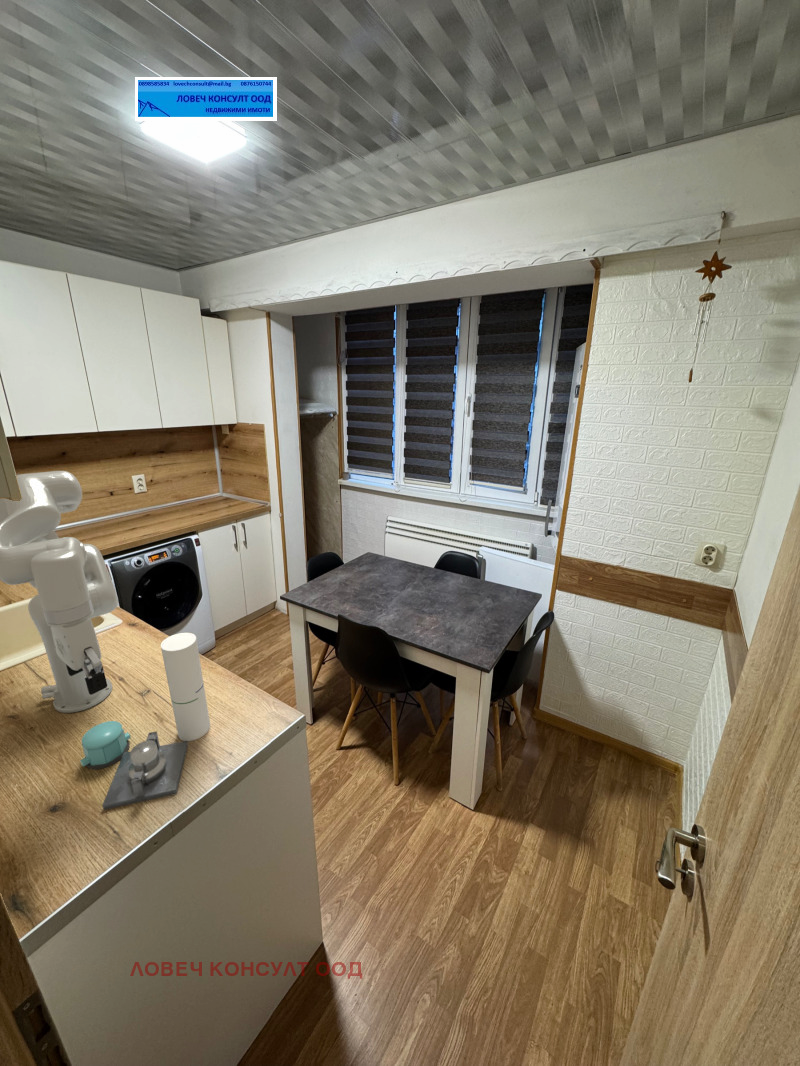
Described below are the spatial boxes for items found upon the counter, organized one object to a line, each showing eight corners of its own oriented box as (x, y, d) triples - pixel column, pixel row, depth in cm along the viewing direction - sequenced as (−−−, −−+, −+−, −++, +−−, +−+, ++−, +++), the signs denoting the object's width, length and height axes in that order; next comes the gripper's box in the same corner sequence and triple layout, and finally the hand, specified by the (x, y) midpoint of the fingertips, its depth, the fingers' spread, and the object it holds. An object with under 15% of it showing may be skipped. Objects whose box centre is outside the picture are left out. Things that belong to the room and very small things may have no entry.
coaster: (78, 773, 90) (77, 771, 89) (93, 742, 97) (93, 740, 97) (122, 764, 92) (122, 762, 92) (134, 735, 100) (133, 733, 99)
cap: (90, 774, 89) (84, 756, 87) (75, 757, 93) (69, 739, 91) (137, 744, 96) (133, 727, 95) (122, 730, 100) (117, 713, 98)
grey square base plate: (176, 794, 86) (170, 768, 83) (103, 809, 82) (95, 783, 80) (188, 744, 97) (183, 720, 95) (124, 756, 94) (118, 732, 92)
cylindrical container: (216, 722, 104) (203, 636, 96) (194, 744, 97) (178, 653, 89) (193, 715, 106) (179, 630, 98) (171, 736, 100) (152, 646, 91)
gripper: (29, 604, 84) (50, 674, 90) (64, 633, 75) (85, 709, 81) (73, 591, 90) (90, 657, 96) (110, 616, 81) (127, 687, 87)
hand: (88, 681), depth 88 cm, fingers open, 9 cm apart
